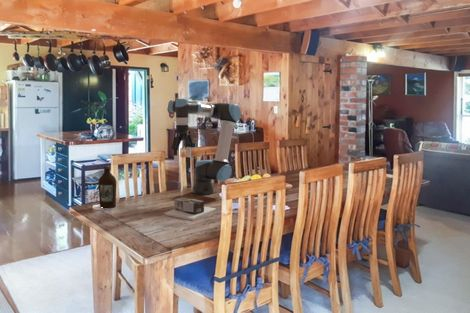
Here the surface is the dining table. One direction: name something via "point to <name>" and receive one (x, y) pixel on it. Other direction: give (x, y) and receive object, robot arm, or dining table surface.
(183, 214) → the board
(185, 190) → the dining table surface
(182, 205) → the coffee box
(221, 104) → the robot arm
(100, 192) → the olive oil
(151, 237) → the dining table surface
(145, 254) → the dining table surface
